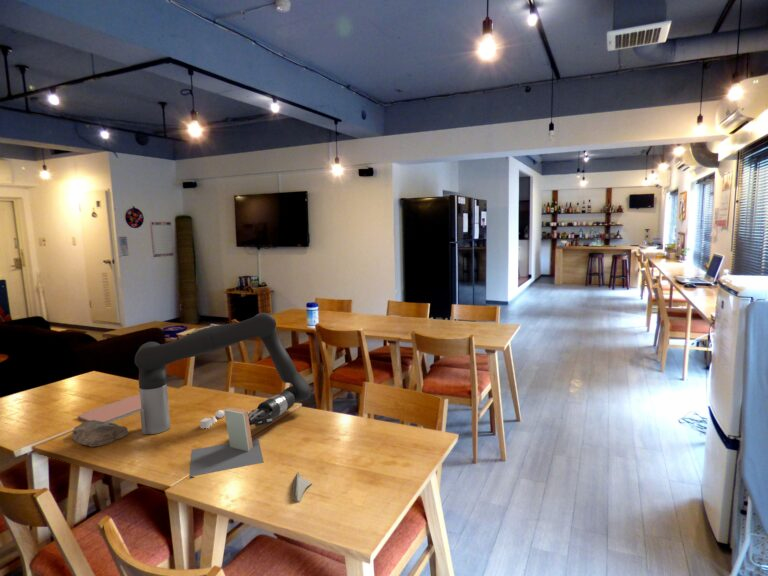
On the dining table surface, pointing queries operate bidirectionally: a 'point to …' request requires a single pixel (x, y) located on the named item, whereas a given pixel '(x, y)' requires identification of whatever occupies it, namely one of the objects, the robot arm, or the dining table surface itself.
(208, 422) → the game pieces
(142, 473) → the dining table surface
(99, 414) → the notebook
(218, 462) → the mat
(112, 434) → the grey rock
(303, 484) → the ceramic fragment
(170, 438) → the dining table surface
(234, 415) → the tile
